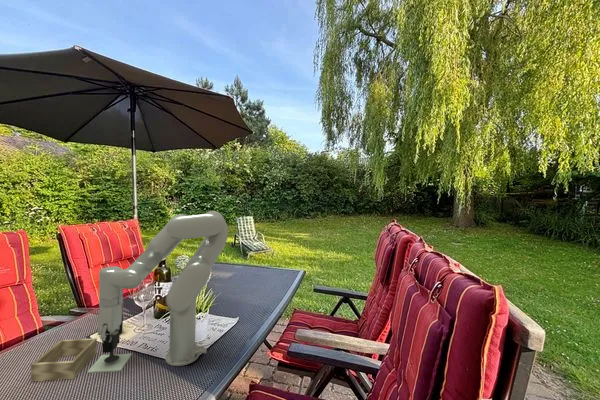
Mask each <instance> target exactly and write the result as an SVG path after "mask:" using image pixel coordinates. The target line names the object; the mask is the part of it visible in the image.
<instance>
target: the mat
mask: <svg viewBox="0 0 600 400" xmlns="http://www.w3.org/2000/svg"><path fill="white" fill-rule="evenodd" d="M114 355H118V356H119V359H118V360H116V361H114V362H110V363H106V362H104V359H105V358H107V357H109V356H110V354H101V355H100V356H99V358H97V360H95V362H94V363H93V364H92V366H90V368H89V369H88V371H87V374H98V373H99V374H100V373H103V374H104V373H114V372H115V373H116V372H122V371H123V369H124V367H125V366H126V364H127V363H128V361H129V360H130V358H131V357H132V355H133V354H132V353H120V354H119V353H118V354H116V353H115V354H114Z"/></svg>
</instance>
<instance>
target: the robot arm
mask: <svg viewBox="0 0 600 400" xmlns="http://www.w3.org/2000/svg"><path fill="white" fill-rule="evenodd" d="M228 229H229V228H228V225H227V222H226V220H225V218H224V216H223V215H222V214H221V213H220V212H218V211H217V210H216V211H215V210H209V211H207V212H206V213H200V214H191V215H187V214H185V213H180V214H176V215H174V216H172V217H171V218H170V219H169V220H168V221H167V223H166V224H165V225H164V227H163V228H162V229H161V230H159V232H158V233H156V235H155V236H154V237H153V238H152V239H151V240H150V241H149V243H148V245H147V247H146V249H145V250H144V251H143V252H142V253H141V254H140V255H139V256H138V257H137V258H136V259H135V260H134V262H132V263H131V264H130V265H129V266H128V267H127V268H124V269H123V268H122V267H121V266H116V265H115V266H114V265H113V266H106V267H103V268H101V269H100V270H99V272H98V278H99V279H98V292H99V293H98V302H99V303H98V305H99V311H98V321H97V323H98V324H97V334H98V335H99V336H100V340H101V343H102V353H103V354H104V353H109V354H110V352H112V351H113V352H114V350H113V341H111V340H112V333H114V332H115V330H116V329H117V328H118V329H120V328H119V327H120V325H121V322H122V308H121V304H122V303H123V304H124V289H125V290H133V289H136V288H138V287H139V286H140V285H141V284H142V282H143V281H144V280H145V279H146V278H147V277H148V276H149V275H150V274H151V273H152V271H153V270H154V269H155V268H156V267H157V266H158V265H159V264H160V263H161V262H162V261H163V260H164V259H166V258H167V257H168V256H170V254H171V253H172V252H173V251H174V250H175V249H176V247H178V246H179V244H180V243H181V242H182V241H183V240H189V239H198V238H203V240H202V241H201V243H200V245H199V246H198V247H197V249H196V251H195V252H194V254H193V255H192V256H191V257H190V258H189V260H188V261H187V263H186V264H185V266H184V268H183V269H182V271H181V273H180V274H179V276H178V277H177V278H176V280H174V281H173V283H172V284H171V286H170V288H169V290H168V292H167V294H166V299H165V302H166V305H167V308H168V309H169V351H168V352H167V353H166V354H165V357H164V361H165V363H166V364H167V365H170V366H173V367H174V366H175V367H181V366H186V365H189V364H192V363H194V362H195V361H196V360H198V359H199V356H200V354H207V351H208V349H207V347H205V345H197V344H198V342H197V341H196V328H197V327H196V322H197V321H196V319H197V298H198V296H199V294H200V293H201V291H202V290H203V288H204V287H205V286H206V284H207V282H208V281H209V279H210V276H211V271H212V269H213V266H214V265H215V262H216V261H217V259H218V258H219V256H220V255H221V253H222V252H223V249H224V247H225V246H226V244H227V240H228V237H229V236H228V231H229V230H228ZM107 331H110V333H107ZM106 335H109V338H108V337H107V336H106ZM120 336H121V335H120V334H119V340H118V344H119V343H120V341H121V340H120Z"/></svg>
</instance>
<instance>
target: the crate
mask: <svg viewBox="0 0 600 400" xmlns="http://www.w3.org/2000/svg"><path fill="white" fill-rule="evenodd" d="M97 345H98V344H97V338H96V337H95V338H80V339H79V338H77V339H60V340H59V341H57V342H56V343H55V344H54V345H53V346H52V347H50V348H49V349H48V350H47V351H45V352H44V353H43V354H42V355H41V356H40V357H39V358H37V359H36V360H35V361H34V362H32V363H31V364H30V376H31V377H30V382H31V381H39V382H45V381H44V380H54V381H62V380H61V379H69V380H75V379H76V377H77V376H78V375H79V374H80V373H81V371H82V370H83V369H84V368H85V367H86V366H87V365H88V363H89V362H91V360H92V359H93V358H94V357H95V356H96V355H97V354H98V353H97V350H98V349H97ZM71 356H75V357H74V358H73V359H72V360H65V361H63V360H62V361H59V359H60V358H62V357H71ZM58 379H59V380H58Z"/></svg>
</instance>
